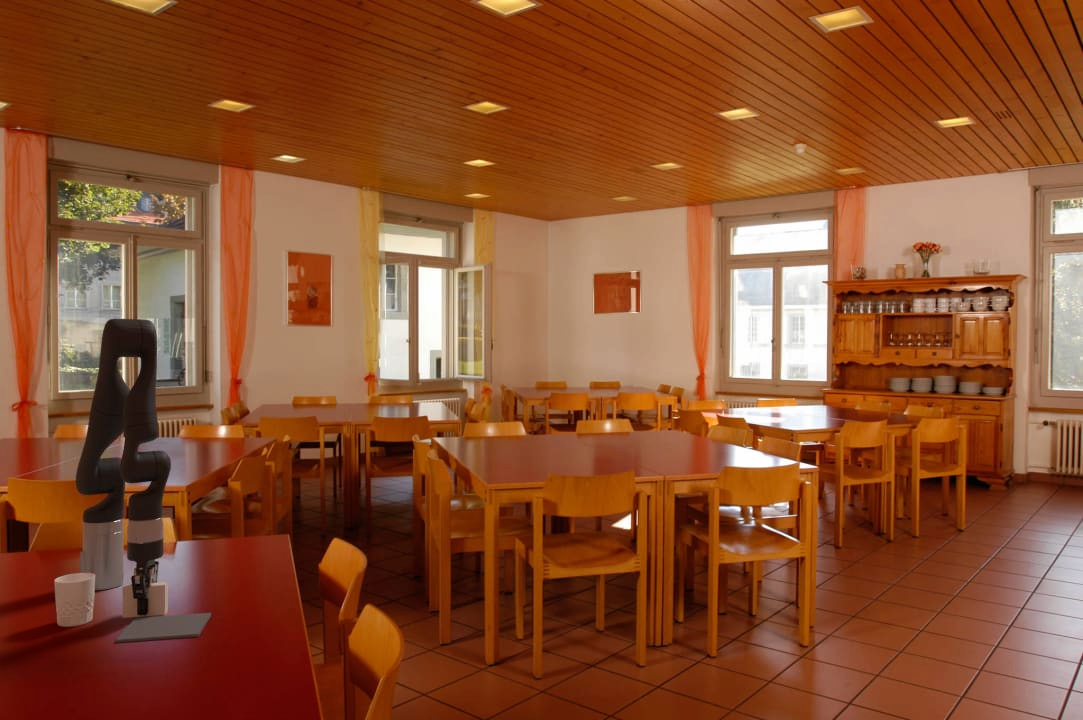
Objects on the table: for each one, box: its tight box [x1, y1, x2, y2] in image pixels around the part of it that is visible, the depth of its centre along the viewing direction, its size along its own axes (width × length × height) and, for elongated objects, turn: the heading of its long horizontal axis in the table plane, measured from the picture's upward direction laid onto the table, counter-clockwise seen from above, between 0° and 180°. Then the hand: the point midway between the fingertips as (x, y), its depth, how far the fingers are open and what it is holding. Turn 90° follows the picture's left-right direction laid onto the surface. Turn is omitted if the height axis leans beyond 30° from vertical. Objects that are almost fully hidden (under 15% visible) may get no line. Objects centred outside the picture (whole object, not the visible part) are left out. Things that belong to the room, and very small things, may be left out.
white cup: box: [54, 572, 96, 628], centre depth 173 cm, size 8×8×10 cm
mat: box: [115, 612, 212, 644], centre depth 169 cm, size 16×14×1 cm
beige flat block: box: [122, 581, 169, 619], centre depth 178 cm, size 9×2×7 cm, turn 103°
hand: (145, 611), depth 178 cm, fingers open, 3 cm apart
